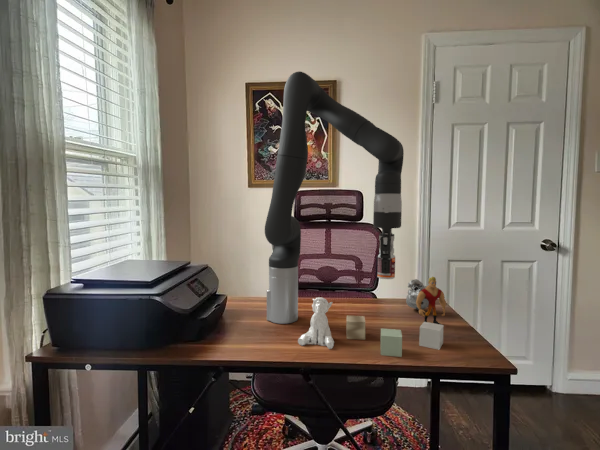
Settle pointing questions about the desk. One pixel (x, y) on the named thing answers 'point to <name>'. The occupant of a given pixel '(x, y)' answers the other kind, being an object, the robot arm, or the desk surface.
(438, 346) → the grey block
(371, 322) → the desk surface
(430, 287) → the action figure
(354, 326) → the birch block
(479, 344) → the desk surface
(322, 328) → the white creature statuette
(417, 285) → the heart
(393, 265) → the pill bottle
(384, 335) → the sage block
